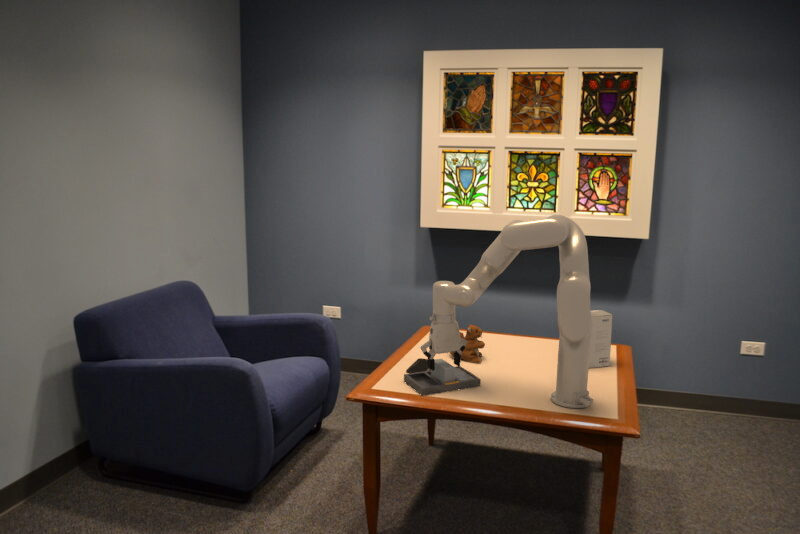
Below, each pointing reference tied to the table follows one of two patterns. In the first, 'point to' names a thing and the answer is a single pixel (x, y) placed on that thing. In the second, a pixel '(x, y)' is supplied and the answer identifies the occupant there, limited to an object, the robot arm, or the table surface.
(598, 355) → the grey carton box
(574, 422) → the table surface
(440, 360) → the gray rectangular block
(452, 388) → the gray divided tray
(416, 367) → the phone
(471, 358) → the stuffed squirrel
